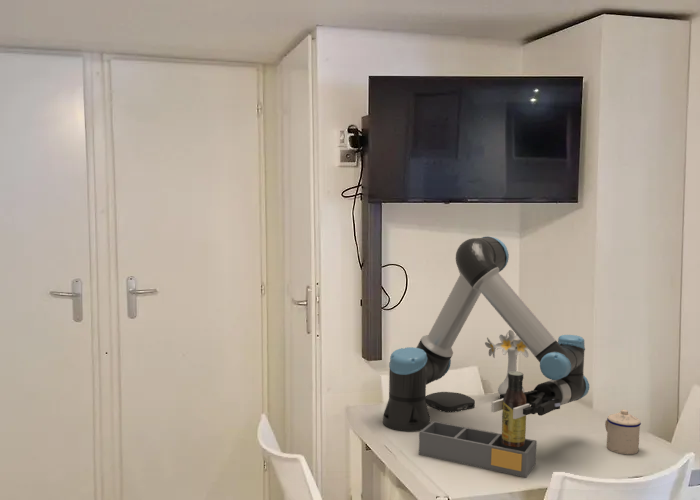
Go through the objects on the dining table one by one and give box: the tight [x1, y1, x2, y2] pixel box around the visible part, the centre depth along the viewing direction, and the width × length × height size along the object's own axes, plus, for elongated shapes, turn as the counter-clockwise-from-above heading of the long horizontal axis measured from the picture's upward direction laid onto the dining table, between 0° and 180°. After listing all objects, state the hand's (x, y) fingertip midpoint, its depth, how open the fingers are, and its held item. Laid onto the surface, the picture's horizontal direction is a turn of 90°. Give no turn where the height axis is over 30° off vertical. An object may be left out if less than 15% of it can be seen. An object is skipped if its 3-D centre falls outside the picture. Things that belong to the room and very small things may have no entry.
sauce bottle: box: [501, 370, 527, 447], centre depth 180 cm, size 7×6×20 cm
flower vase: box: [484, 329, 529, 395], centre depth 240 cm, size 13×18×25 cm
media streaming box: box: [425, 391, 476, 413], centre depth 235 cm, size 15×15×3 cm
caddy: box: [418, 420, 538, 478], centre depth 186 cm, size 30×11×6 cm, turn 61°
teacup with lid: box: [604, 409, 642, 455], centre depth 197 cm, size 12×9×12 cm
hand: (503, 410), depth 177 cm, fingers closed on sauce bottle, 6 cm apart
